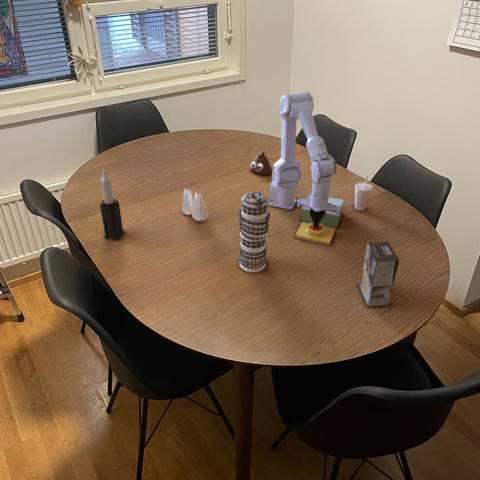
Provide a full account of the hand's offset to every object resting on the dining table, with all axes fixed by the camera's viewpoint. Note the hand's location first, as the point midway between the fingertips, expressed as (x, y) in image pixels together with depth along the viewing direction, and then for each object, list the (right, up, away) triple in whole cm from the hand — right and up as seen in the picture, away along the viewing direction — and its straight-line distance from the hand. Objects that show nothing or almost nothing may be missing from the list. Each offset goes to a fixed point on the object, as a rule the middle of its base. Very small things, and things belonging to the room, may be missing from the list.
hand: (316, 227), depth 161 cm
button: (0, -2, +1) cm, 2 cm away
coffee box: (+13, -20, -24) cm, 34 cm away
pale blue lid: (+4, +8, +8) cm, 12 cm away
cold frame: (+4, +3, +11) cm, 12 cm away
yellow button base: (0, -3, +2) cm, 3 cm away
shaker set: (-43, +3, +11) cm, 44 cm away
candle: (-70, -3, 0) cm, 70 cm away
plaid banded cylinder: (-22, -12, -13) cm, 29 cm away
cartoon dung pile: (+77, +101, +241) cm, 272 cm away
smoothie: (+20, +7, +17) cm, 27 cm away
